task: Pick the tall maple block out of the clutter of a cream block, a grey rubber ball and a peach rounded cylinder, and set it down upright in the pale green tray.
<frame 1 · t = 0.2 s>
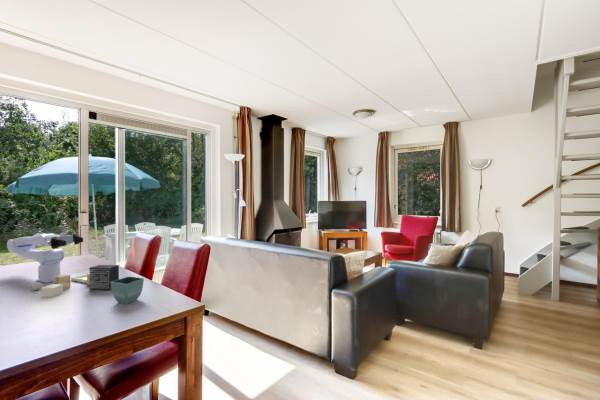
hand: (74, 241, 144), 21 cm above the table, tool horizontal, fingers open, 7 cm apart
grey ball: (37, 286, 137), point 2 cm above the table
tray: (91, 278, 154), on the table
flower pot: (127, 301, 122), on the table
peach rounded cylinder: (92, 283, 146), on the table
maple block: (62, 288, 139), on the table
cream block: (52, 295, 130), on the table
small box: (104, 288, 140), on the table
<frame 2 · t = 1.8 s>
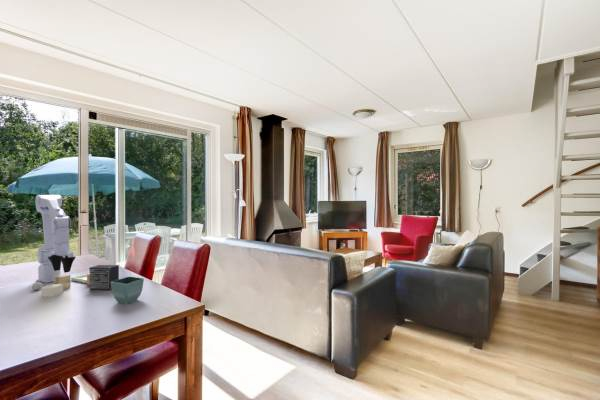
hand: (62, 271, 139), 8 cm above the table, tool pointing down, fingers open, 7 cm apart
nothing on the table moved.
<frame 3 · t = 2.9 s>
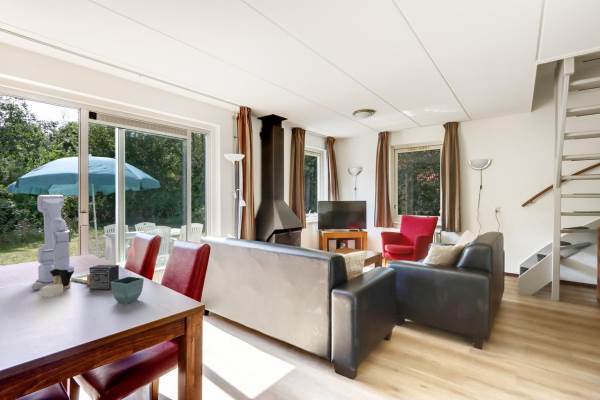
hand: (62, 285, 139), 1 cm above the table, tool pointing down, fingers closed on maple block, 4 cm apart
maple block: (62, 288, 139), on the table, touching gripper
everything else where it was.
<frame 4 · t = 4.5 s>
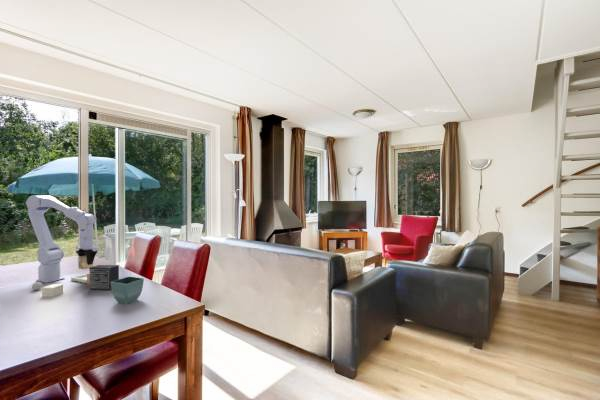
hand: (87, 264, 152), 8 cm above the table, tool pointing down, fingers closed on maple block, 4 cm apart
maple block: (86, 267, 151), point 7 cm above the table, touching gripper
everything else where it was.
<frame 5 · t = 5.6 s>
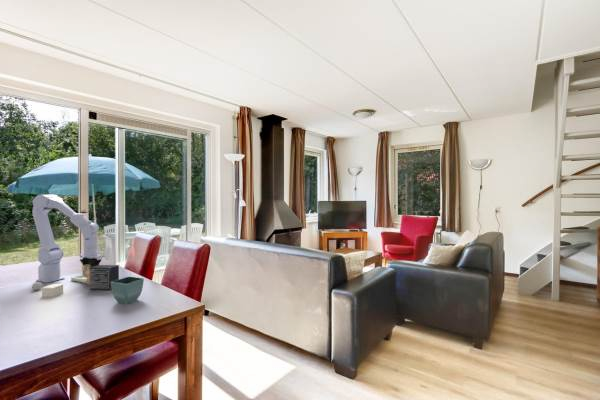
hand: (91, 272, 154), 4 cm above the table, tool pointing down, fingers closed on maple block, 4 cm apart
maple block: (90, 276, 154), point 2 cm above the table, touching gripper
everything else where it was.
when the fingers open (3 cm above the table, at t = 6.1 s): maple block stays where it is, resting on tray.
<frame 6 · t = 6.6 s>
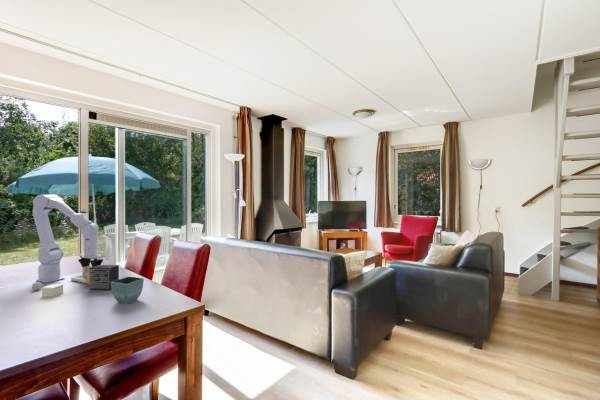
hand: (90, 272, 154), 3 cm above the table, tool pointing down, fingers open, 7 cm apart
maple block: (90, 278, 154), point 1 cm above the table, touching tray
everything else where it was.
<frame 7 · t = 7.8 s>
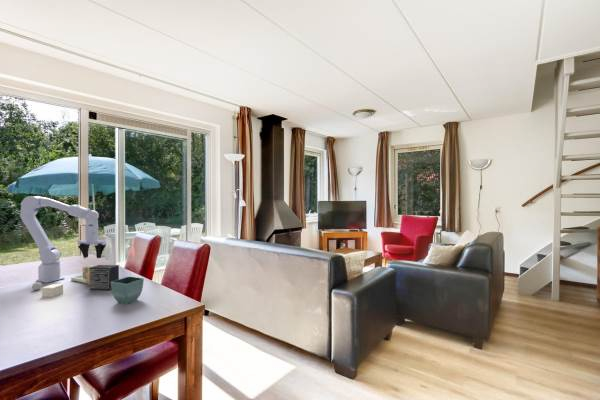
hand: (92, 257, 159), 10 cm above the table, tool pointing down, fingers open, 7 cm apart
nothing on the table moved.
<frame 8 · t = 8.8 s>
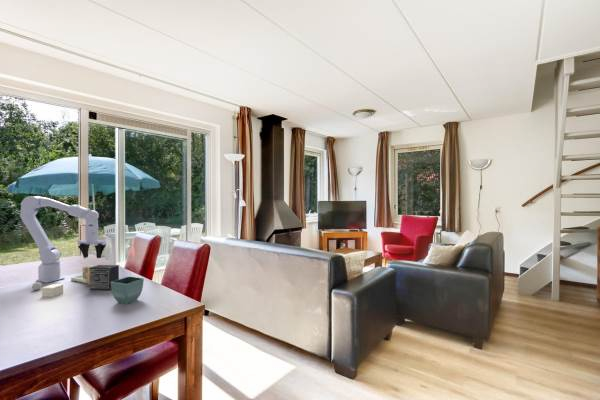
hand: (92, 257, 159), 10 cm above the table, tool pointing down, fingers open, 7 cm apart
nothing on the table moved.
at the end: maple block inside the target area on the tray (0.4 cm from its centre), point 0.6 cm above the tray's base; maple block tilted 0°; the gripper is holding nothing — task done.
